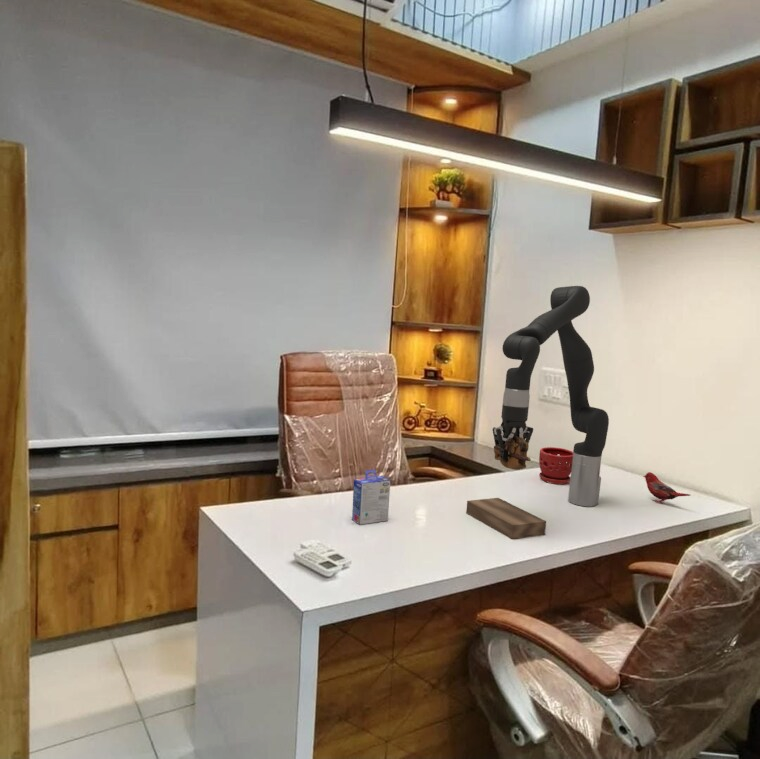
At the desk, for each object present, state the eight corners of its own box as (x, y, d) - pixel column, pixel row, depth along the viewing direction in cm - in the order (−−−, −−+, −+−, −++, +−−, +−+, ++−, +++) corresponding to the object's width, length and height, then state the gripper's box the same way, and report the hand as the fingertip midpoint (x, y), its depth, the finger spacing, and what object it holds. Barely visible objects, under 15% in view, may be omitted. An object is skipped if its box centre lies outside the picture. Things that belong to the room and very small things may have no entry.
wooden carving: (486, 461, 184) (490, 429, 183) (499, 461, 186) (502, 429, 185) (520, 476, 169) (524, 441, 168) (533, 475, 171) (537, 441, 170)
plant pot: (530, 476, 236) (533, 446, 235) (560, 476, 239) (563, 447, 238) (547, 486, 224) (550, 454, 222) (578, 486, 227) (582, 455, 225)
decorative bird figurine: (643, 496, 218) (646, 470, 217) (690, 512, 204) (694, 483, 203) (638, 497, 217) (641, 470, 216) (686, 513, 202) (690, 484, 201)
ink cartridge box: (379, 515, 179) (382, 467, 177) (389, 521, 174) (392, 472, 173) (350, 519, 174) (353, 470, 172) (359, 525, 169) (363, 475, 167)
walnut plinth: (497, 509, 192) (498, 497, 191) (544, 534, 172) (546, 521, 172) (466, 513, 186) (467, 500, 186) (511, 539, 167) (513, 525, 166)
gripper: (526, 401, 182) (520, 456, 184) (488, 402, 175) (482, 459, 177) (543, 406, 175) (537, 463, 177) (504, 406, 168) (498, 465, 170)
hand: (510, 460), depth 177 cm, fingers closed on wooden carving, 4 cm apart
